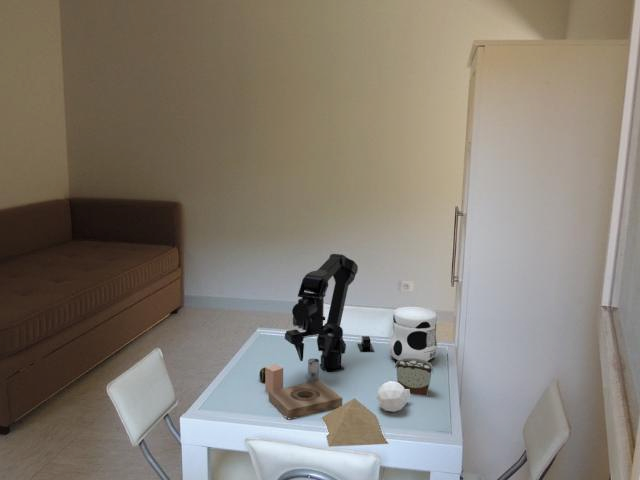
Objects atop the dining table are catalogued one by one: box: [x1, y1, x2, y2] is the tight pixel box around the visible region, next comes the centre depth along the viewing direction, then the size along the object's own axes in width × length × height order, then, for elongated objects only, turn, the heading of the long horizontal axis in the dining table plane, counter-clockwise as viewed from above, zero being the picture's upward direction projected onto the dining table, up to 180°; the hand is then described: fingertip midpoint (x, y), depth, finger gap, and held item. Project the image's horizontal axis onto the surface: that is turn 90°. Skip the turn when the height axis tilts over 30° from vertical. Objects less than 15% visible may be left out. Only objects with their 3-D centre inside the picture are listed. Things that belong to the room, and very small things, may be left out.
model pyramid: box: [321, 397, 389, 448], centre depth 162 cm, size 17×17×10 cm
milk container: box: [389, 306, 438, 364], centre depth 213 cm, size 17×17×18 cm
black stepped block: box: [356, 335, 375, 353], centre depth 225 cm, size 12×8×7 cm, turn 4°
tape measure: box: [259, 366, 265, 383], centre depth 194 cm, size 7×7×4 cm
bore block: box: [268, 380, 343, 419], centre depth 177 cm, size 18×14×3 cm
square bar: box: [264, 364, 284, 394], centre depth 185 cm, size 4×4×8 cm
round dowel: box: [307, 358, 320, 383], centre depth 192 cm, size 4×4×8 cm
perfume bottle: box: [376, 380, 411, 413], centre depth 175 cm, size 9×9×12 cm
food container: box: [394, 358, 434, 398], centre depth 188 cm, size 12×6×10 cm, turn 71°
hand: (313, 358), depth 191 cm, fingers open, 9 cm apart
